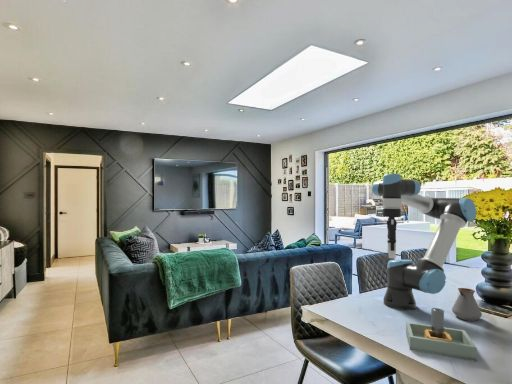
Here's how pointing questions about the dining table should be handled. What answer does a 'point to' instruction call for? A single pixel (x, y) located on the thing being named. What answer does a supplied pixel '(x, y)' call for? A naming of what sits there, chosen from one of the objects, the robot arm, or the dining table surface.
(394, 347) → the dining table surface
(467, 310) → the coffee pot
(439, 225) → the robot arm
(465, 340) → the walled box
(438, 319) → the peg
